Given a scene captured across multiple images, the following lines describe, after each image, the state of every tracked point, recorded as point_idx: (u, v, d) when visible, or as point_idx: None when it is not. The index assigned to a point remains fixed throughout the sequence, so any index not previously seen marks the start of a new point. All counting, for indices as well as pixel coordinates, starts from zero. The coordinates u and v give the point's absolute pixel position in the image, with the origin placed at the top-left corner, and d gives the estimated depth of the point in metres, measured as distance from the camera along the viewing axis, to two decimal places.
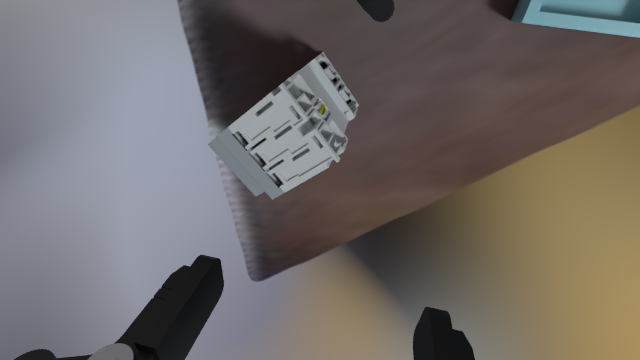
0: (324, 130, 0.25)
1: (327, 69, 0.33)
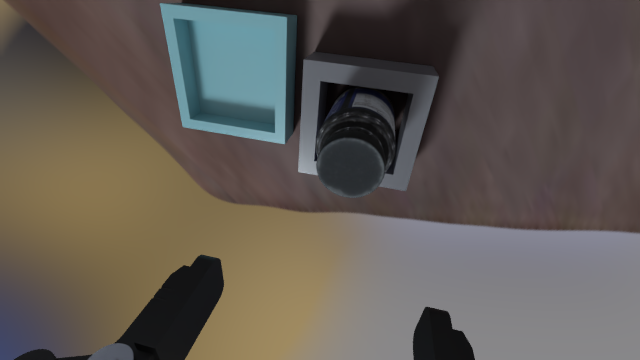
0: None
1: None
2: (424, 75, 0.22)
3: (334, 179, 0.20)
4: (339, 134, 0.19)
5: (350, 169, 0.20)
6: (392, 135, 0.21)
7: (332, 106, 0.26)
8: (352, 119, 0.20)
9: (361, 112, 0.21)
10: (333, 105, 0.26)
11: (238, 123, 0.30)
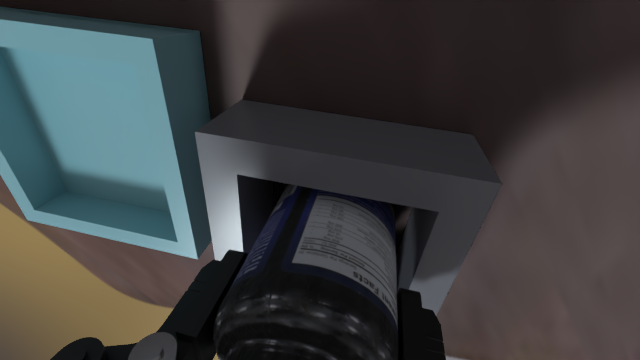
0: None
1: None
2: (465, 178, 0.09)
3: None
4: None
5: None
6: (391, 344, 0.08)
7: (274, 208, 0.13)
8: (284, 322, 0.08)
9: (310, 295, 0.08)
10: (273, 210, 0.13)
11: (120, 216, 0.17)
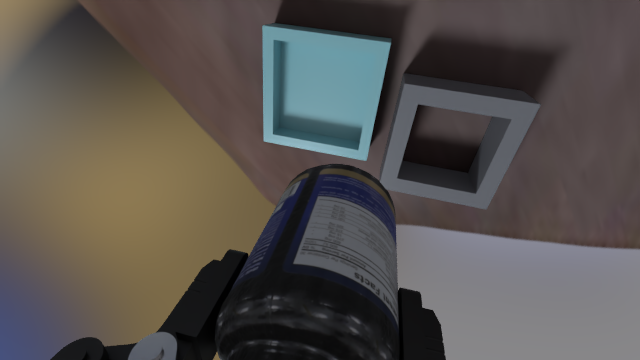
0: None
1: None
2: (525, 102, 0.23)
3: None
4: None
5: None
6: (392, 344, 0.08)
7: (275, 209, 0.13)
8: (285, 323, 0.08)
9: (312, 296, 0.08)
10: (274, 211, 0.13)
11: (319, 139, 0.31)
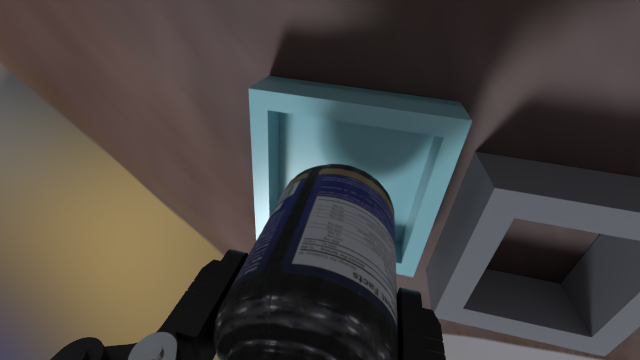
0: None
1: None
2: None
3: None
4: None
5: None
6: (391, 344, 0.08)
7: (274, 209, 0.13)
8: (284, 323, 0.08)
9: (310, 295, 0.08)
10: (273, 210, 0.13)
11: None
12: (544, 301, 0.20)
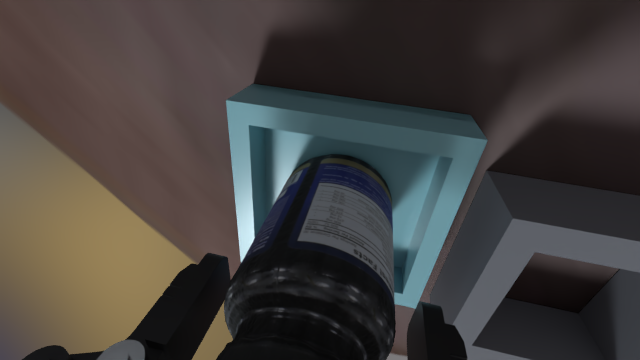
0: None
1: None
2: None
3: None
4: (247, 357, 0.07)
5: None
6: (388, 313, 0.09)
7: (278, 196, 0.14)
8: (291, 291, 0.08)
9: (315, 267, 0.09)
10: (278, 197, 0.14)
11: None
12: (562, 335, 0.18)
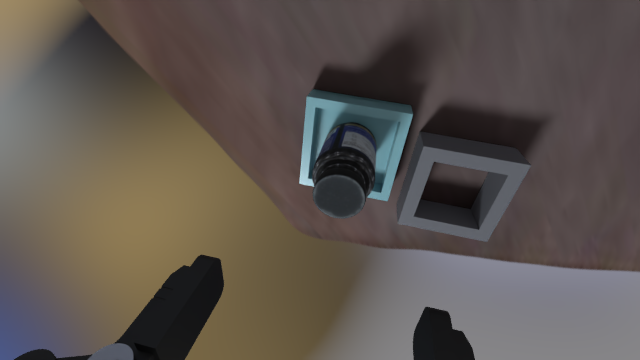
0: None
1: None
2: (519, 163, 0.29)
3: (326, 204, 0.26)
4: (331, 171, 0.25)
5: (339, 197, 0.26)
6: (372, 170, 0.27)
7: (325, 139, 0.32)
8: (341, 158, 0.26)
9: (349, 151, 0.27)
10: (326, 139, 0.32)
11: None
12: (458, 215, 0.36)
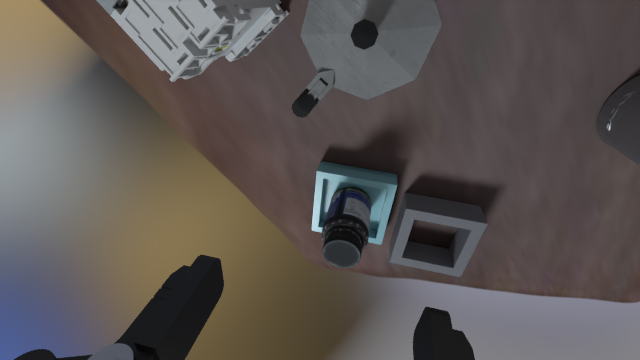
0: (198, 57, 0.25)
1: (271, 23, 0.33)
2: (478, 222, 0.38)
3: (332, 258, 0.36)
4: (335, 236, 0.35)
5: (341, 254, 0.35)
6: (366, 231, 0.37)
7: (331, 201, 0.42)
8: (343, 224, 0.36)
9: (348, 219, 0.36)
10: (332, 202, 0.41)
11: None
12: (438, 255, 0.45)
